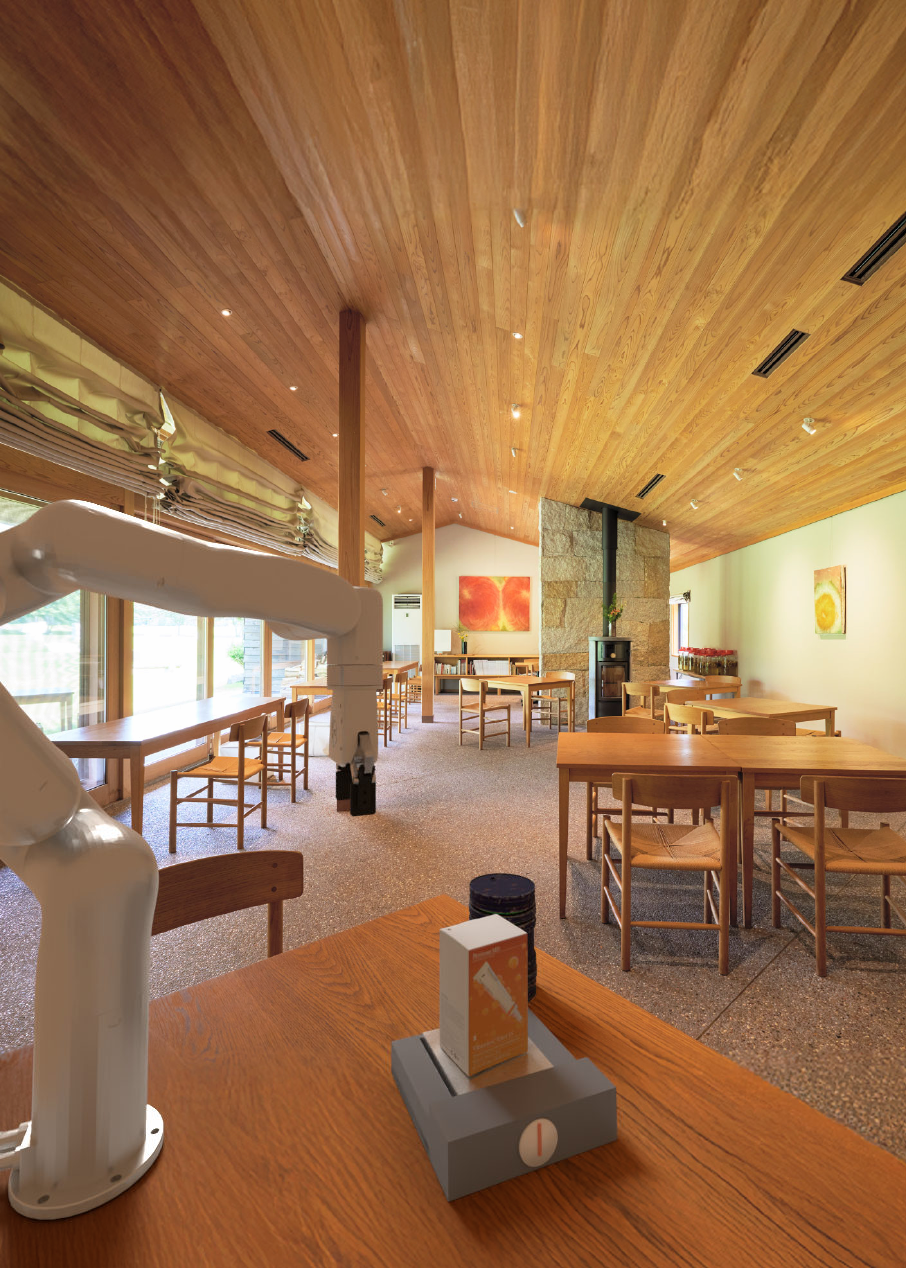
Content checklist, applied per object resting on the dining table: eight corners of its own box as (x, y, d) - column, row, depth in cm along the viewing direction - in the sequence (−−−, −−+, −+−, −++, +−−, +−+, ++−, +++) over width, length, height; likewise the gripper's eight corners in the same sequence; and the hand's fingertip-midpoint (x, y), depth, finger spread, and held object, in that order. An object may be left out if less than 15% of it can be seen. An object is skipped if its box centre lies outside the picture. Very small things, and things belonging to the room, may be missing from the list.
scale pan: (458, 1126, 59) (458, 1095, 59) (422, 1059, 69) (422, 1032, 70) (554, 1095, 63) (553, 1066, 63) (507, 1036, 73) (506, 1011, 74)
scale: (450, 1206, 52) (450, 1146, 52) (391, 1072, 69) (391, 1027, 69) (620, 1143, 58) (619, 1090, 59) (528, 1035, 76) (527, 995, 76)
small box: (468, 1079, 62) (467, 950, 62) (438, 1046, 67) (437, 927, 68) (530, 1052, 66) (528, 931, 66) (496, 1023, 71) (495, 912, 72)
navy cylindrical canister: (551, 998, 84) (549, 890, 85) (490, 1016, 80) (489, 902, 81) (514, 966, 93) (513, 869, 94) (457, 980, 89) (457, 878, 90)
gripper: (317, 678, 87) (316, 796, 86) (339, 680, 71) (339, 825, 70) (367, 677, 90) (367, 791, 89) (399, 679, 74) (400, 819, 73)
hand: (354, 806), depth 80 cm, fingers open, 9 cm apart
